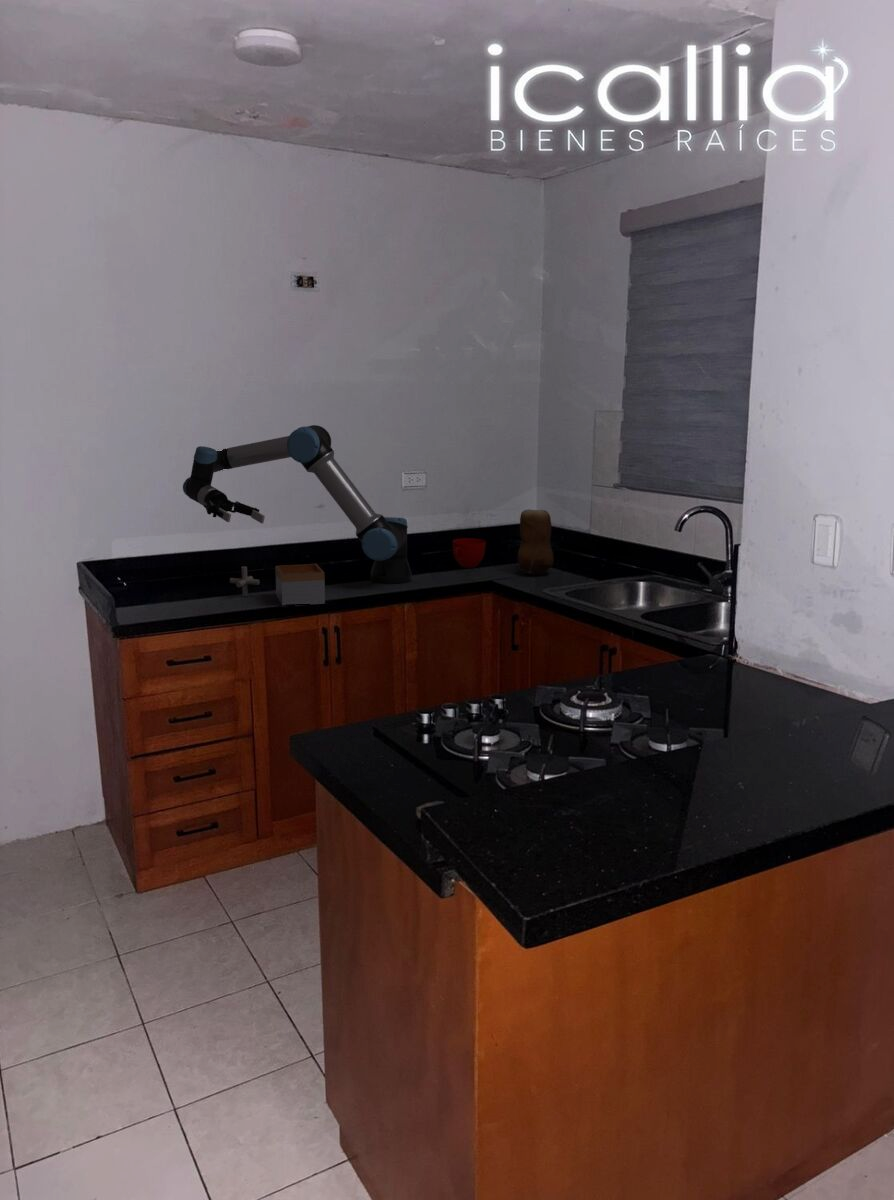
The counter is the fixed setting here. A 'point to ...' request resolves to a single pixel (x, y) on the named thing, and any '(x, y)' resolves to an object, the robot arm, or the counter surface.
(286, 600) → the grey box
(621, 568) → the counter surface
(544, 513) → the butternut squash
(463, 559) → the ceramic cup
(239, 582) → the pipe connector
